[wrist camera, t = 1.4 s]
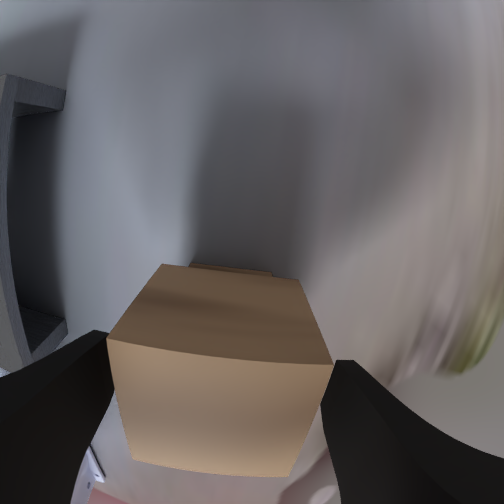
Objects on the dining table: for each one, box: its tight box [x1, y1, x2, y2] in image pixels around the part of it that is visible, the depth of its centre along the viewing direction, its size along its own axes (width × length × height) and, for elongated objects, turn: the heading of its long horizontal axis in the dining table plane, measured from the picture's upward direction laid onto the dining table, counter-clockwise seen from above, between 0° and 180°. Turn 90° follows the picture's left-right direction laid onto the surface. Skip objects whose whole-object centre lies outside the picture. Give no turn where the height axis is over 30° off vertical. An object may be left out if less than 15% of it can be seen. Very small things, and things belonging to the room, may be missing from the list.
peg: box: [106, 263, 334, 477], centre depth 10 cm, size 5×5×7 cm
